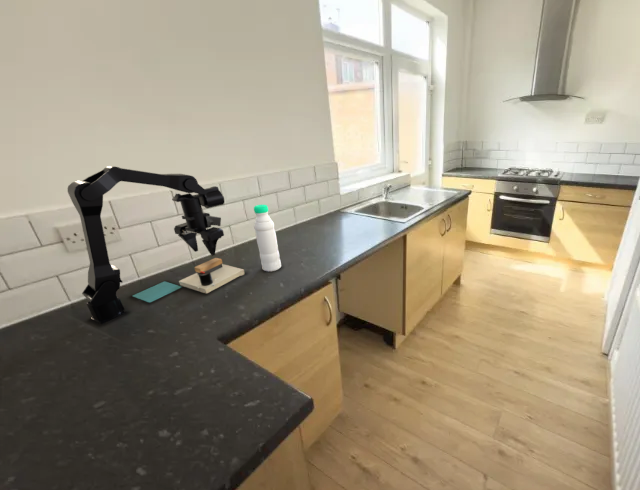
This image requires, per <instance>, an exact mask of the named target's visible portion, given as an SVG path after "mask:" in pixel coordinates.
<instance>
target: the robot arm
mask: <svg viewBox="0 0 640 490" xmlns="http://www.w3.org/2000/svg"><path fill="white" fill-rule="evenodd" d="M120 182H126V183H133V184H142V185H148V186H158V187H164V188H168V189H171V190H175V191H177V192H175V195H174V196H173V197H172V199H171V200H172V201H173V202H176V203H180V205H181V209H182V212H183V215H181V218H182V220H185V222H182V223H180V224H176V225H175V226H174V227H173V231H174V233H175V235H177V236H178V237H179V238H180V239H182V240H183V242H185V243H186V245H188V246H189V247H190V249H192V251H194V252H198V251H199V246H198V241H197V235H200V238H201V239H202V240H201V242H202V243H203V244H204V246H205V248H206V249H207V251H208V252H209V254H210V256H211V257H214V256H216V251H217V244H218V242H219V241H218V240H220V239H222V237H224V236H225V232H224V230H223V229H222V228H220V227H221V226H222V225H221V223H222V217H221V216H219V217H218V216H213V215H211V214H210V213H209V212H204V211H203V207H204V208H205V209H211V208H216V207H219V206H220V207H221V206H223V205H225V197H224V195H223V193H222V192H221V190H220V189H219V186H210V187H207V188H205V187H203V186H201V185H200V184H199V182H198V180H197V178H196V177H195V176H193V175H189V174H185V173H156V172H148V171H143V170H137V169H131V168H129V169H128V168H123V167H118V166H114V165H108V166H105V167H104V168H103V169H101V170H99V171H98V172H95V173H94V174H92V175H89V176H88V177H86V178H84V179H83V180H75V181H73V182H71V183H69V185H68V186H67V193H68V196H69V198H70V200H71V203H72V205H73V206H74V208H75V210H76V212H77V213H78V215H79V218H80V224H81V227H82V232H83V237H84V242H85V247H86V251H87V255H88V260H89V267H88V270H87V285H86V286H85V288H84V290H83V291H82V293H81V294H82V296H83V297H85V299H87V302H86V305H87V308H88V310H89V312H90V314H91V316H92V317H91V318H90V319H91V320H93V321H95V322H97V323H98V324H101V325H103V324H106V323H108V322H110V321H113V320H114V319H116V318H118V317H121V316H123V315H126V313H127V311H126V310H125V307H124V304H123V303H122V300H121V298H120V297H118V296H117V291H118V290H120V288H121V284H122V283H123V280H122V278H121V269H120V268H118V267H117V266H115V265H114V264H111V262H110V258H109V253H108V248H107V247H108V246H107V242H106V237H105V233H104V232H105V231H104V227H103V223H102V217H101V216H102V215H101V214H102V211H103V206H104V195H105V194H107V193H108V192H110V191H111V190H112V189H113V188H115V186H116V185H117V184H118V183H120ZM178 191H179V192H183V193H184V194H181V193H178ZM193 193H194V194H193ZM212 226H213V227H212ZM215 226H216V227H215Z"/></svg>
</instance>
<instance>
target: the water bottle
mask: <svg viewBox="0 0 640 490" xmlns="http://www.w3.org/2000/svg"><path fill="white" fill-rule="evenodd" d="M253 211H254V214H255V215H256V217H255V219H254V222H253V228H254V231H255V238H256V244H257V248H258V251H259V259H260V261H261V268H262V270H263V271H264V272H268V273H270V272H276V271H278V270H280V269H281V267H282V262H281V261H282V260H281V258H280V251H279V246H278V238H277V233H276V229H275V222H274V221H273V220H272V218H271V217H270V215H269V207H268V205H267V204H257V205H254V206H253Z"/></svg>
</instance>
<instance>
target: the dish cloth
mask: <svg viewBox="0 0 640 490" xmlns="http://www.w3.org/2000/svg"><path fill="white" fill-rule="evenodd" d="M179 289H182V286H181V285H178V284H174V283H171V282H168V281H165V280H164V281H162V282H160V283H157V284H156V285H153V286H151V287H149V288H146V289H144V290H142V291H140V292H137V293H134V294H133V295H132V297H133V298H136V299H138V300H141V301H144V302H146V303H149V304H150V303H152V302H154V301H156V300H158V299H160V298H162V297H165V296H167V295H169V294H171V293H173V292H175V291H177V290H179Z"/></svg>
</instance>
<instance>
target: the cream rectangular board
mask: <svg viewBox="0 0 640 490" xmlns="http://www.w3.org/2000/svg"><path fill="white" fill-rule="evenodd" d="M244 275H246V274H245V269H243V268H239V267H236V266H232V265H228V264H224V263H222V268H219V269H217V270H215V271H213V272H211V276H212V280H213V283H212V284H210V285H208V286H202V285H201V282H200V278H199V275H198V274H197V272H195V273H193V274H191V275H189V276H187V277H184V278H182V279H180V280H178V283H179V286H181V287H184V288H187V289H190V290H194V291H197V292H200V293H203V294H209V293H210V292H212V291H214V290H216V289H218V288H221V287H222V286H223V285H226V284H228V283H229V282H232V281H233V280H235V279H237V278H238V277H241V276H244Z"/></svg>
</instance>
